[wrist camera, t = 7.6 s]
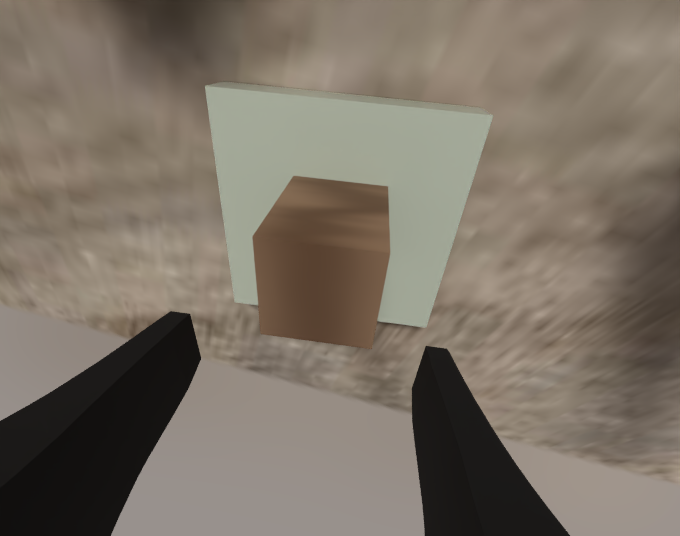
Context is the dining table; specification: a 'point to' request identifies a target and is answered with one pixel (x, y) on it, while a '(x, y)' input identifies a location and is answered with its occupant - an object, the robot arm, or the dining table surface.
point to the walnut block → (323, 261)
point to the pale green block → (348, 174)
